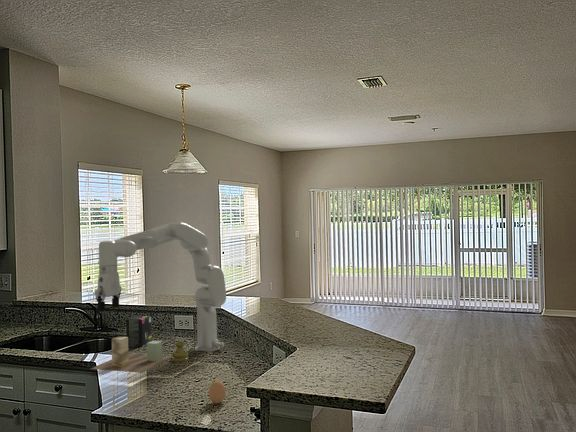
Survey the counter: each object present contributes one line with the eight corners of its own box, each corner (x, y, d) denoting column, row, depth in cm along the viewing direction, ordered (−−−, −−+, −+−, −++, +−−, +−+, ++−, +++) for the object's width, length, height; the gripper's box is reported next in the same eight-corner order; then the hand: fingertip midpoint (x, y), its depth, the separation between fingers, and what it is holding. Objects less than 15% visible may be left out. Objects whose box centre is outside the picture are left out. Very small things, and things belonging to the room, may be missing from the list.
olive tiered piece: (184, 365, 239) (184, 343, 239) (169, 364, 240) (169, 342, 240) (191, 361, 246) (190, 339, 246) (176, 360, 247) (175, 338, 247)
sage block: (162, 358, 246) (162, 341, 246) (156, 361, 242) (156, 343, 242) (152, 357, 248) (152, 340, 248) (147, 360, 243) (146, 343, 243)
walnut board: (175, 358, 251) (175, 356, 251) (142, 375, 224) (142, 372, 224) (127, 355, 258) (127, 352, 258) (89, 371, 231) (89, 368, 231)
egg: (226, 400, 192) (226, 377, 192) (225, 405, 186) (224, 383, 186) (209, 400, 191) (209, 378, 192) (207, 406, 185) (207, 383, 186)
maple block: (128, 364, 238) (128, 337, 238) (121, 367, 233) (121, 339, 233) (118, 363, 239) (118, 336, 239) (112, 366, 235) (111, 339, 235)
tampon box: (142, 348, 273) (142, 319, 273) (126, 347, 275) (125, 319, 275) (152, 343, 284) (151, 315, 284) (136, 342, 285) (135, 315, 285)
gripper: (102, 271, 222) (103, 312, 222) (127, 267, 238) (127, 306, 238) (87, 271, 224) (88, 312, 224) (113, 267, 240) (113, 305, 240)
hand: (108, 309), depth 231 cm, fingers open, 9 cm apart
